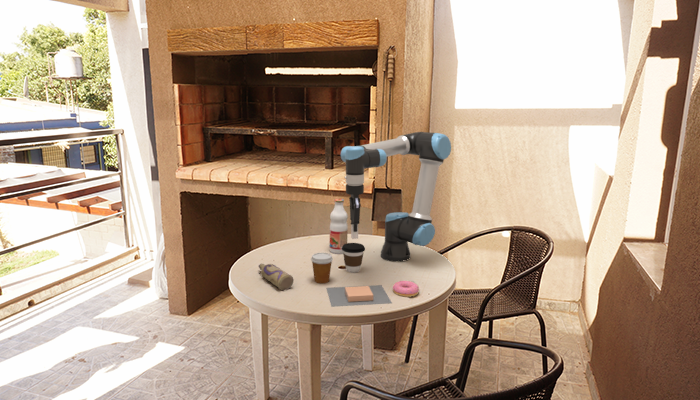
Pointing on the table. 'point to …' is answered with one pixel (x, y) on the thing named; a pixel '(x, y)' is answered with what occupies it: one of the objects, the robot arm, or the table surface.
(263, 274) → the decorative bottle
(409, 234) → the robot arm
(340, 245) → the fruit juice
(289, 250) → the table surface
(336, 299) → the mat
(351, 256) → the coffee cup
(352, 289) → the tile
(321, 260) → the disposable coffee cup
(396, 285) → the doughnut
